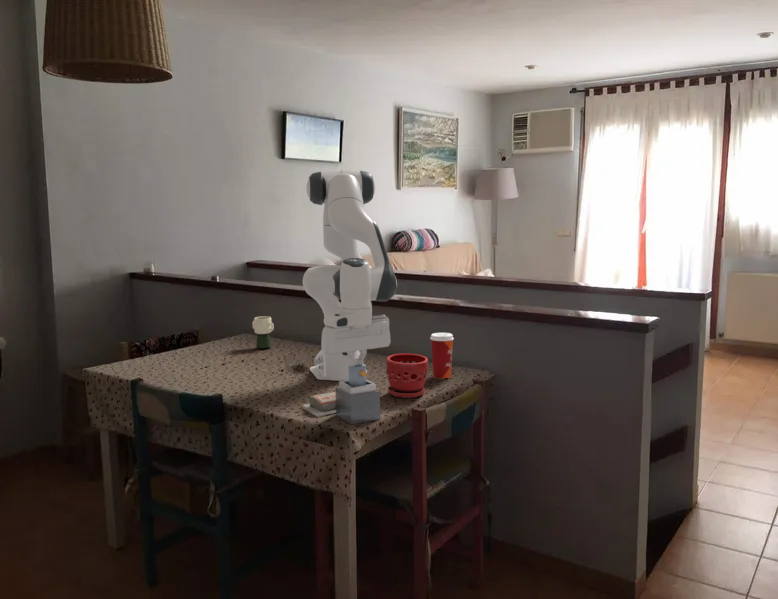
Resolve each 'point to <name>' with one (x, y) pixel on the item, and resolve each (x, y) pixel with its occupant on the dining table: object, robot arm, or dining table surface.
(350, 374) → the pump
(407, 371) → the plant pot
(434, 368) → the coffee cup
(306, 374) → the dining table surface
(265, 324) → the character mug
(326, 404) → the packaged product
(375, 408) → the grey hollow box
